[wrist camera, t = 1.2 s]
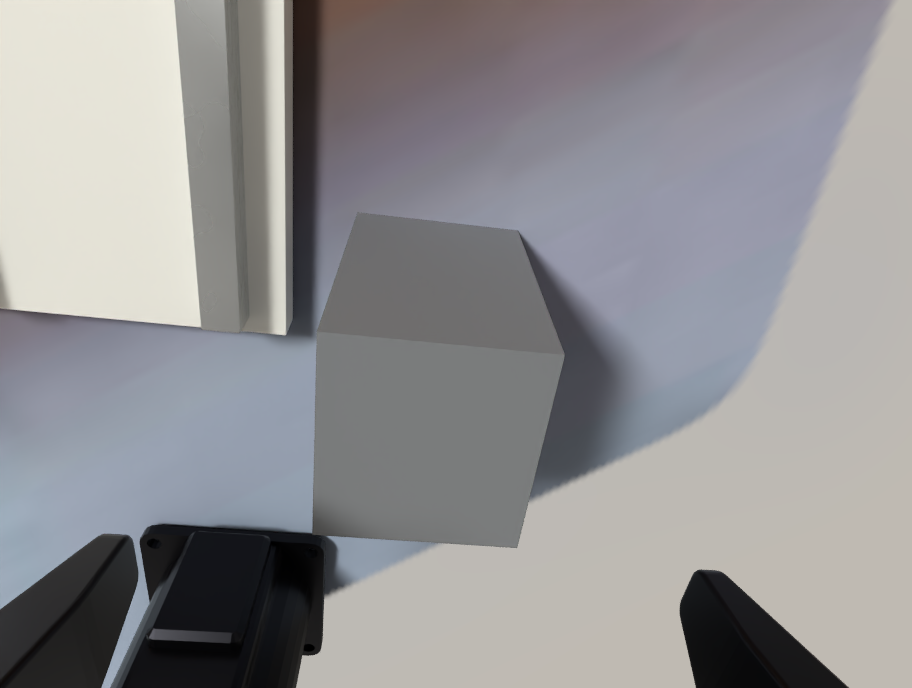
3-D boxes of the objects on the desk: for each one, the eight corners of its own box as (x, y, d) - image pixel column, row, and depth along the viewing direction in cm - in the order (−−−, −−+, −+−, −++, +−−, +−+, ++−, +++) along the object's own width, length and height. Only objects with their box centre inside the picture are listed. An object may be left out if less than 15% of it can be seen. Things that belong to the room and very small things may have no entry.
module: (490, 378, 20) (517, 547, 14) (349, 366, 19) (312, 534, 13) (517, 230, 17) (564, 354, 11) (357, 212, 17) (316, 331, 11)
